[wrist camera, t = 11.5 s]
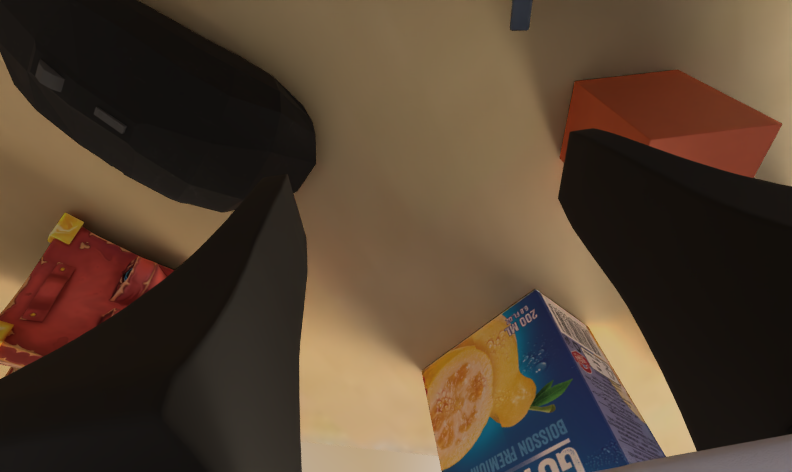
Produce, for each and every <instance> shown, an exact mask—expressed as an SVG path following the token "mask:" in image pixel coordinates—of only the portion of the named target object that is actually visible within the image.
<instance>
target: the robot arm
mask: <svg viewBox="0 0 792 472" xmlns="http://www.w3.org/2000/svg"><path fill="white" fill-rule="evenodd" d="M558 199H559V201H560V203H561V205H562V208H563V210H564V212H565V214H566V216H567V218H568V220H569V222H570V224H571V226H572V228H573V229H574V231H575V232H576V234H577V235H578V236H579V238H580V239H581V241H582V242H583V244H584V245H585V246H586V248H587V249H588V251H589V252H590V253H591V255H592V256H593V258H594V259H595V260H596V262H597V263H598V264H599V266H600V267H601V269H602V270H603V271H604V273H605V274H606V276H607V277H608V278H609V280H610V281H611V283H612V284H613V285H614V287H615V288H616V289H617V291H618V292H619V294H620V296H621V297H622V299H623V300H624V302H625V303H626V305H627V306H628V308H629V310H630V312H631V314H632V315H633V317H634V319H635V321H636V323H637V325H638V326H639V328H640V330H641V332H642V334H643V335H644V337H645V339H646V341H647V343H648V345H649V347H650V349H651V351H652V353H653V355H654V357H655V359H656V361H657V363H658V365H659V367H660V369H661V371H662V373H663V375H664V377H665V379H666V381H667V383H668V386H669V388H670V390H671V392H672V394H673V396H674V399H675V401H676V403H677V405H678V407H679V409H680V411H681V414H682V416H683V419H684V421H685V423H686V426H687V428H688V431H689V433H690V435H691V438H692V440H693V443H694V445H695V447H696V450H697V452H691V453H686V454H680V455H675V456H669V457H664V458H658V459H653V460H648V461H642V462H637V463H632V464H629V465H625V466H621V467H616V468H611V469H606V470H600V471H595V472H792V187H791V186H786V185H781V184H776V183H772V182H768V181H763V180H759V179H755V178H751V177H747V176H742V175H739V174H735V173H731V172H728V171H724V170H721V169H717V168H714V167H711V166H707V165H704V164H701V163H698V162H694V161H691V160H688V159H685V158H682V157H679V156H676V155H674V154H671V153H668V152H665V151H662V150H659V149H657V148H654V147H651V146H648V145H645V144H643V143H640V142H637V141H634V140H631V139H629V138H626V137H623V136H620V135H617V134H614V133H610V132H607V131H604V130H600V129H595V128H591V129H584V130H577V131H571V132H570V133H569V139H568V144H567V150H566V156H565V162H564V167H563V173H562V179H561V185H560V190H559V196H558ZM306 281H307V242H306V235H305V231H304V228H303V225H302V221H301V218H300V214H299V211H298V208H297V204H296V201H295V197H294V194H293V191H292V187H291V184H290V181H289V177H288V174H284V175H277V176H270V177H263V178H262V179H261V180H260V181H259V182H258V184H257V185H256V186H255V187H254V188H253V189H252V191H251V192H250V193H249V194H248V196H247V197H246V198H245V199H244V200H243V202H242V203H241V204H240V205H239V206H238V207H237V209H236V210H235V211H234V212H233V213H232V214H231V215H230V217H229V218H228V219H227V220H226V221H225V222H224V223H223V224H222V226H221V227H220V228H219V229H218V230H217V231H216V232H215V233H214V234H213V235H212V236H211V237H210V238H209V239H208V240H207V241H206V242H205V243H204V244H203V245H202V246H201V247H200V248H199V249H198V250H197V251H196V252H195V253H194V254H193V255H192V256H191V257H190V258H188V259H187V260H186V261H185V262H184V263H183V264H182V265H180V266H179V267H178V268H177V269H176V270H174V271H173V272H172V273H171V274H170V275H169V276H167V277H166V278H165V279H164V280H162V281H161V282H160V283H158V284H157V285H156V286H154V287H153V288H151V289H150V290H149V291H147V292H146V293H145V294H143V295H142V296H140V297H139V298H138V299H136V300H135V301H134V302H132V303H131V304H129V305H128V306H127V307H125V308H124V309H122V310H121V311H119V312H118V313H116V314H115V315H113V316H112V317H110V318H108V319H107V320H105V321H104V322H102V323H101V324H99V325H97V326H96V327H94V328H92V329H91V330H89V331H87V332H86V333H84V334H82V335H81V336H79V337H77V338H76V339H74V340H72V341H71V342H69V343H67V344H65V345H64V346H62V347H60V348H58V349H57V350H55V351H53V352H51V353H49V354H47V355H45V356H43V357H41V358H39V359H38V360H36V361H34V362H32V363H30V364H28V365H26V366H24V367H22V368H21V369H19V370H17V371H15V372H13V373H11V374H9V375H7V376H5V377H3V378H1V379H0V472H302V470H301V469H302V468H301V443H300V404H299V352H300V339H301V329H302V320H303V310H304V301H305V291H306Z"/></svg>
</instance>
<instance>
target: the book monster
mask: <svg viewBox="0 0 792 472" xmlns="http://www.w3.org/2000/svg"><path fill="white" fill-rule="evenodd" d="M83 224H84V222H83V221H81V220H79V219H77V218H75V217H73V216H71V215H69V214H67V213H64V215H63V216H62V217H61V219H60V220H59V222H58V223H57V224H56V226H55V227H54V229H53V230H52V232H51V233H50V234H49V237H48V240H47V241H48V242H50V243H51V244H50V245H49V247H48V248H47V250H46V251H45V253H44V254H43V256H42V258H41V259H40V261H39V262H38V264H37V265H36V267H35V268H34V270H33V271H32V273H31V274H30V275H29V277H28V278H27V280H26V281H25V283H24V284H23V285H22V287H21V288H20V290H19V291H18V292H17V294H16V295H15V296H14V298H13V299H12V300H11V302H10V303H9V304H8V305H7V307H6V308H5V309H4V310H3V311H2V313H1V314H0V365H5V366H10V367H11V368H10V369H9V371H8V372H7V374H6V375H5V376H7V375H9V374H11V373H13V372H15V371H17V370H19V369H21V368H22V367H24V366H26V365H28V364H30V363H32V362H34V361H36V360H38V359H39V358H41V357H43V356H45V355H47V354H49V353H51V352H53V351H55V350H57V349H58V348H60V347H62V346H64V345H65V344H67V343H69V342H71V341H72V340H74V339H76V338H77V337H79V336H81V335H82V334H84V333H86V332H87V331H89V330H91V329H92V328H94V327H96V326H97V325H99V324H101V323H102V322H104V321H105V320H107V319H108V318H110V317H112V316H113V315H115V314H116V313H118V312H119V311H121V310H122V309H124V308H125V307H127V306H128V305H129V304H131V303H132V302H134V301H135V300H136V299H138V298H139V297H140V296H142V295H143V294H145V293H146V292H147V291H149V290H150V289H151V288H153V287H154V286H156V285H157V284H158V283H160V282H161V281H162V280H164V279H165V278H166V277H167V276H169V275H170V274H171V273H172V272H173V271H174V270H172V269H170V268H167V267H165V266H162V265H159V264H157V263H155V262H153V261H150V260H147V259H145V258H143V257H140V256H138V255H136V254H134V253H132V252H130V251H128V250H125V249H123V248H121V247H119V246H117V245H115V244H113V243H111V242H109V241H107V240H105V239H103V238H101V237H99V236H97V235H95V234H94V233H92V232H90V231H89V230H87V229H85V228H84V227H82V226H83Z"/></svg>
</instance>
